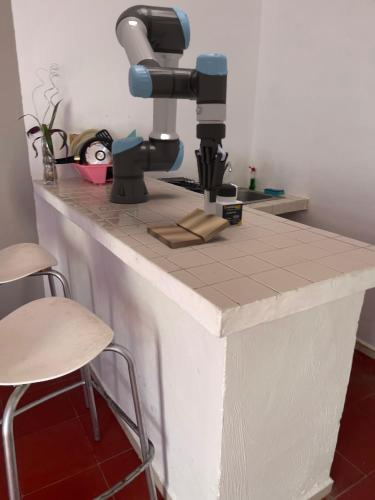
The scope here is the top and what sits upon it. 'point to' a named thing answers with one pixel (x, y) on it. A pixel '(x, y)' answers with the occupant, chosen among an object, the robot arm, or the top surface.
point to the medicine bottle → (229, 205)
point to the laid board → (174, 236)
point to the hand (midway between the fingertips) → (209, 213)
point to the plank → (203, 224)
